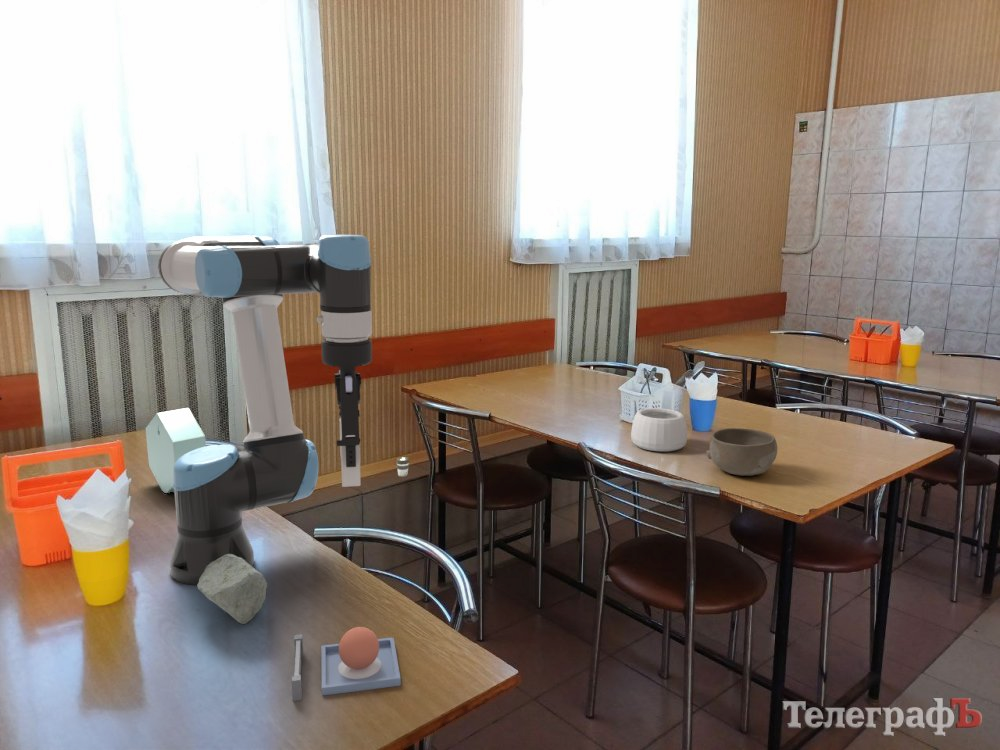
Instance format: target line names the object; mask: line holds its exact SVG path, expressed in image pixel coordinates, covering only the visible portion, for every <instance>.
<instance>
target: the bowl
mask: <svg viewBox="0 0 1000 750" xmlns="http://www.w3.org/2000/svg"><path fill="white" fill-rule="evenodd" d="M777 455H778V443H777V441H776V438H775V436H774V435H773V434H771V433H769V432H766V431H762V430H757V429H753V428H752V429H751V428H742V427H741V428H737V427H731V428H729V427H728V428H727V427H726V428H720V429H717V430H715V431H713V432H712V433H711V435H710V438H709V449H706V456H707V458H708V459H709V460H712V462H713V464H714V465H715V466H716V467H717V468H718V469H720V470H722V471H723V472H726V473H728V474H732V475H735V476H744V477H745V476H747V477H752V476H755V475H761V474H764V473H765V472H767V471H768V469H770V467H771V466H772V465H773V463H774V462H775V460H776V458H777V457H778V456H777Z"/></svg>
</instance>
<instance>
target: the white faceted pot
mask: <svg viewBox="0 0 1000 750" xmlns="http://www.w3.org/2000/svg"><path fill="white" fill-rule="evenodd" d="M685 418H686V417H685V416H684V414H683V413H682V412H680V411H677V410H673V409H669V408H659V407H655V408H654V407H650V408H649V407H648V408H643V409H641V410H638V411H637V412H635V415H634V417H633V419H632V420H633V421H632V426H631V432H630V438H631V442H633V444H634V445H635V446H636V447H638V448H640V449H644V450H648V451H653V452H675V451H679V450H681V449H683V447H685V446H686V444H687V441H688V427H687V423H686V422H687V421H686V419H685Z"/></svg>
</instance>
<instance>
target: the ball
mask: <svg viewBox="0 0 1000 750" xmlns="http://www.w3.org/2000/svg"><path fill="white" fill-rule="evenodd" d="M378 639H379V638H378V636H377V635H376V634H375V633H374V631H373V630H371V629H369V628H367V627H365V626H355V627H353V628H351V629H349V630H348V631H346V632H345V633H343V636H342V637H341V639H340V641H339V643H338V644H339V655H340V658H341V660H342V661H343V663H344V664H345V665H346V666H348V667H350V668H352V669H363V668H366V667H368V666H369V665H371V664H372V663H373V662H374V661H375V659H376V657H377V655H378V652H379V641H378Z"/></svg>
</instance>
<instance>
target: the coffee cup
mask: <svg viewBox="0 0 1000 750" xmlns="http://www.w3.org/2000/svg"><path fill="white" fill-rule="evenodd" d="M395 464H396V466H397V467H396V468H397V475H398V477H407V476H408V473H409V467H410V458H409V457H406V456H405V457H403V456H400V457H398V458H396V461H395Z"/></svg>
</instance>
